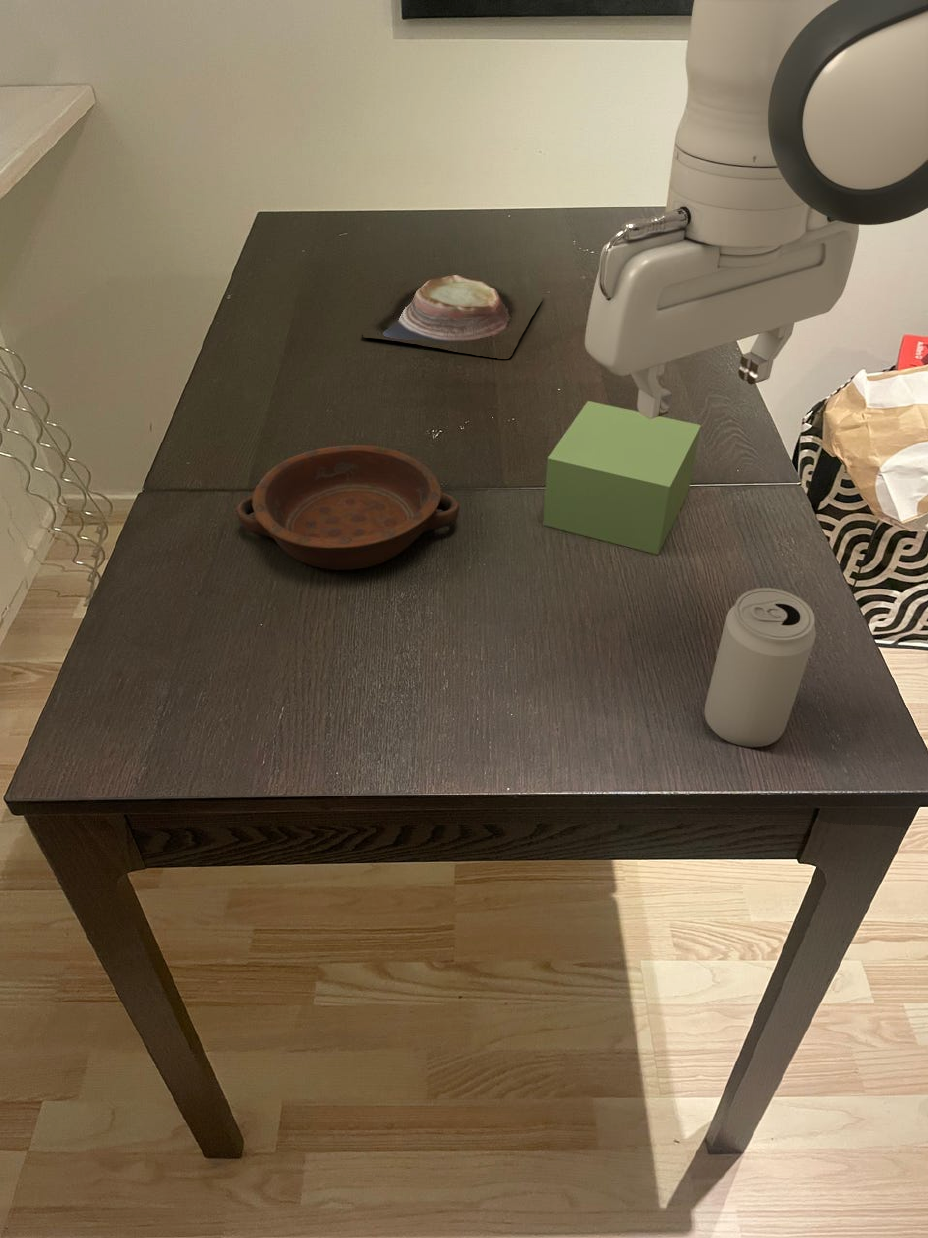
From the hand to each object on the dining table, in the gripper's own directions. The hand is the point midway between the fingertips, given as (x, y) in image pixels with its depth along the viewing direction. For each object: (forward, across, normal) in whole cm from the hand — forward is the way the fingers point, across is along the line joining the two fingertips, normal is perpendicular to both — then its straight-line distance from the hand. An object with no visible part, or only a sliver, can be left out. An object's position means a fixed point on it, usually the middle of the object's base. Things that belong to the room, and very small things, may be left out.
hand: (703, 395), depth 68 cm
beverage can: (+24, -1, -11) cm, 26 cm away
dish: (+24, -17, +28) cm, 40 cm away
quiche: (+24, +17, +65) cm, 71 cm away
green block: (+24, +9, +18) cm, 31 cm away
